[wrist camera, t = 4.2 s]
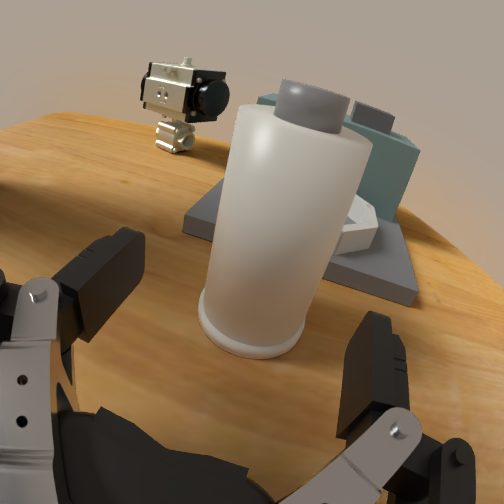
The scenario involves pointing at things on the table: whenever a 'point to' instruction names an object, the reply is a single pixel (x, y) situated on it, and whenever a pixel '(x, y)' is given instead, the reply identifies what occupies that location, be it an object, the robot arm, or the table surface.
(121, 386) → the table surface
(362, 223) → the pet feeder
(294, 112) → the bottle
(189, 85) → the pneumatic valve
